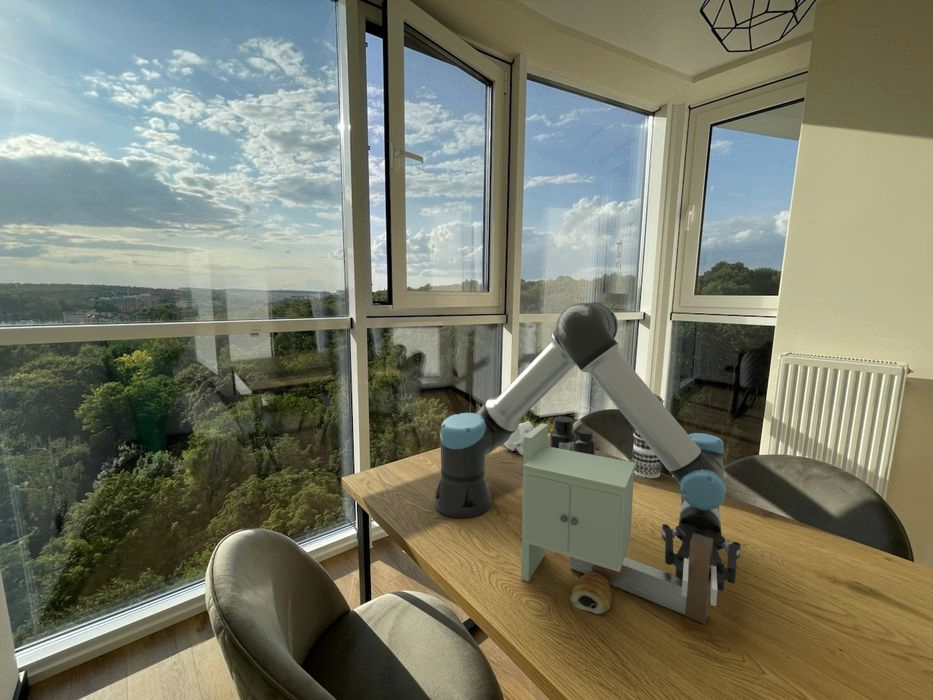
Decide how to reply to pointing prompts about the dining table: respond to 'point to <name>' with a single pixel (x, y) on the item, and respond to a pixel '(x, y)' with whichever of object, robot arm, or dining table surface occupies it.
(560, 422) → the ink bottle
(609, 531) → the green cabinet
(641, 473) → the decorative candle
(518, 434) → the skull bowl
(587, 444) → the supplement bottle
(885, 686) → the dining table surface
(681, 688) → the dining table surface
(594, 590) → the pastry
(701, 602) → the l-shaped try square
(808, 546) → the dining table surface
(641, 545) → the dining table surface
